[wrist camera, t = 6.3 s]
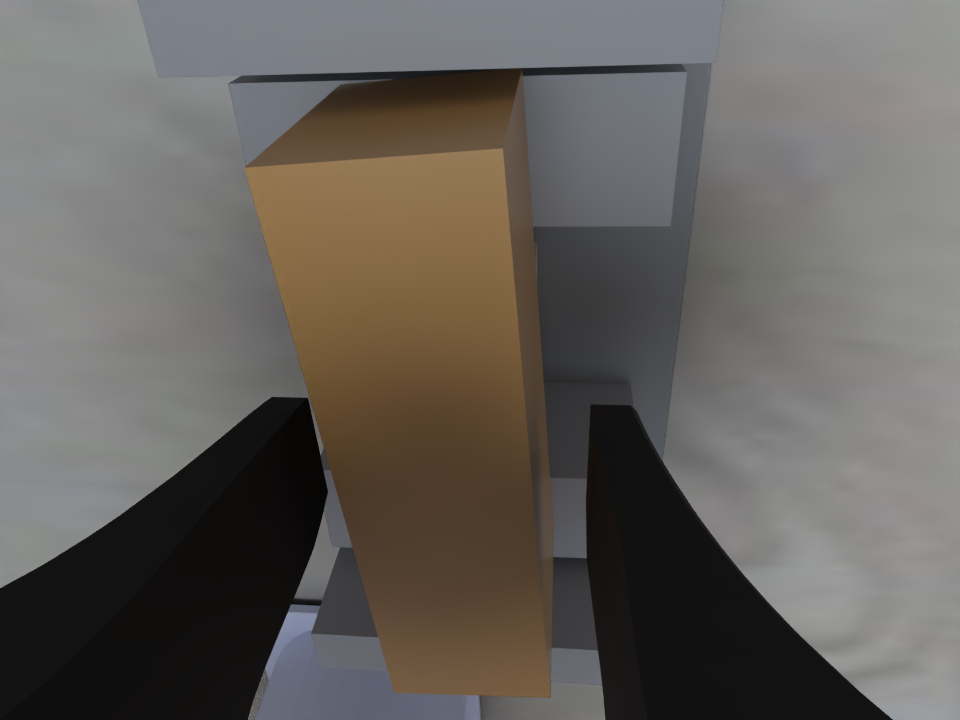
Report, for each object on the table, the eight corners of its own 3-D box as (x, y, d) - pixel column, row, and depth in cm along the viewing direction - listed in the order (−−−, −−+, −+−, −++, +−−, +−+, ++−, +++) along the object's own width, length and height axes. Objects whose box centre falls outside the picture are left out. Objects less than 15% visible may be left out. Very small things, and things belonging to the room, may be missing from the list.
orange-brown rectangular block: (325, 85, 11) (221, 169, 8) (522, 67, 11) (502, 148, 7) (418, 527, 16) (380, 692, 13) (553, 527, 16) (550, 697, 12)
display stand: (651, 496, 21) (681, 706, 16) (352, 485, 22) (282, 680, 17) (722, -119, 13) (838, -125, 7) (241, -93, 14) (33, -83, 8)
